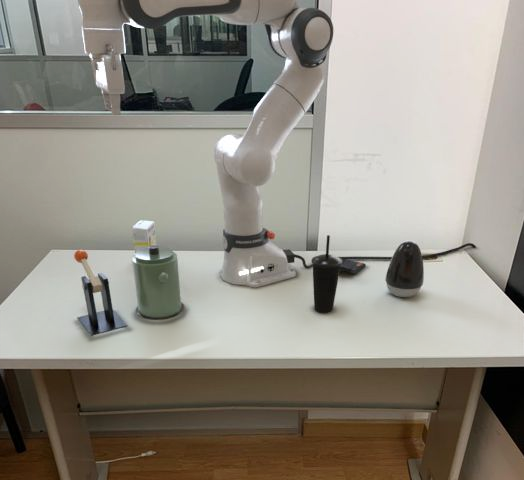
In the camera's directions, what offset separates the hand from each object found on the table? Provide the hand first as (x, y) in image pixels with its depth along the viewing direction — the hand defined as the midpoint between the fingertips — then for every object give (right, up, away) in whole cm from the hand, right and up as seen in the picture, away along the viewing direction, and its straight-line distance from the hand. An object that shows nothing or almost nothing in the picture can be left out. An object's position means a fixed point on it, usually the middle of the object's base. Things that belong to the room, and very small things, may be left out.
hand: (113, 112), depth 125 cm
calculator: (+60, -30, +37) cm, 77 cm away
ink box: (-2, -27, +45) cm, 53 cm away
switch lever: (-7, -38, +5) cm, 39 cm away
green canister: (+9, -46, +13) cm, 49 cm away
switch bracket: (-4, -50, +7) cm, 50 cm away
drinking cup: (+51, -45, +15) cm, 70 cm away
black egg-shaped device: (+74, -40, +24) cm, 88 cm away
